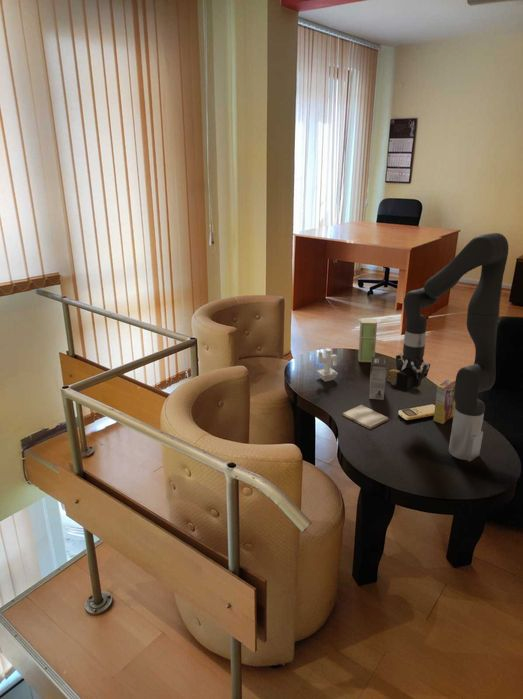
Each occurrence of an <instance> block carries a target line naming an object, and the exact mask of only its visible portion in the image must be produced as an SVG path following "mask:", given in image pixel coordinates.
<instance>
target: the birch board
mask: <svg viewBox="0 0 523 699" xmlns="http://www.w3.org/2000/svg"><path fill="white" fill-rule="evenodd" d="M342 416H344V417H345V418H347V419H349V420H351V421H353V422H355V423H356V424H359V425H361V426H362V427H365V428H367V429H368V430H371V429H373V428H375V427H377V426H379V425H381V424H383V423H385V422H387V421H389V417H388V416H386V415H383V414H382V413H379V412H378V411H375V410H373V409H371V408H369V407H367V406H365V405H363V404H360V405H357V406H356V407H352V408H351V409H348V410H347V411H343V412H342Z"/></svg>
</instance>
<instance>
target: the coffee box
mask: <svg viewBox="0 0 523 699" xmlns="http://www.w3.org/2000/svg"><path fill="white" fill-rule="evenodd" d="M387 359H388V358H387V357H384V356H383V357H382V356H380V357H379V356H375V357H372V361H371V362H370V363H371V364H370V375H369V390H368V391H369V394H368V398H369V399H370V400H380V401H381V400H382V401H384V400H385V391H386V382H387V381H386V376H387V370H388V369H387V366H388V362H387V361H388V360H387Z"/></svg>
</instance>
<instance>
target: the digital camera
mask: <svg viewBox="0 0 523 699" xmlns="http://www.w3.org/2000/svg"><path fill="white" fill-rule="evenodd" d="M417 370H418V369H417ZM421 372H422V371H421ZM415 378H416V377H415V373H414V372H413V369H411V368H407V369H405V370H404V369H403V370H401V371H399V372H397V377H396V383H395V390H397V391H401V392H403V393H407V392H409V391H410V390H412V389H414V388H415V387H414V386H415ZM422 380H423V379H421V381H422Z"/></svg>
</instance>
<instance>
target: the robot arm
mask: <svg viewBox="0 0 523 699" xmlns="http://www.w3.org/2000/svg"><path fill="white" fill-rule="evenodd" d="M508 255H509V242H508V240H507V238H506V236H504V234H502V233H499V232H493V233H485V234H479V235H477V236H475V237H473V238H472V239H471V240H470V241H469V242H468V243H467V244H465V246H464V247H463V248H462V249H461V251H460V252H459V253H458V254H457V255H455V257H454V258H453V259H452V260H451V261H450V262H448V263H447V265H445V266H444V267H443V268H441V269H440V270H439V271H437V272H436V273H435V274H433V275H432V276H430V277H429V279H427V280H426V281H425V282H424V286H423V287H421V288H418V289H414V290H409V291H408V292H407V293H406V294H405V296H404V298H403V308H404V313H405V318H406V324H405V333H404V336H403V347H402V354H401V353H400V354H397V355H395V363H396V370H397V371H401V370H403V369H404V370H405V369H407V368H411V369H413V372H414V373H415V377H416V378H415V386H414V388H419V387H420V386H421V385H422V384H421V383H422V380H423V379H425V378H427V376H428V374H429V371H430V368H431V363H426V362H425V361H424V356H425V349H426V339H427V336H426V333H427V322H428V321H427V320H428V319H427V317H426V316H425V315H424V314H421V310H422V309H425V308H429V307H431V306H432V305H434V304H435V303H436V302H437V301H438V300H439V298H440V297H441V296H443V295H444V294H446V293H447V292H449V291H450V290H451V289H453V288H454V287H455V286H456V285H457V284H458V283H459V281H460V280H461V279H462V277H463V276H464V275H466V274H467V273H469V272H471V271H472V270H475V269H476V268H479V267H481V268H480V269H481V270H480V277H479V281H478V283H477V286H476V287H475V290H474V292H473V293H472V295H471V298H470V300H469V302H468V306H467V313H466V327H467V328H466V329H467V332H468V333H469V336H470V338H471V340H472V342H473V344H474V349H475V354H474V355H475V356H474V362H473V364H471V365H468V366H463V367H461V368H459V370H458V371H457V373H456V376H455V380H454V381H455V392H454V400H455V407H454V416H453V417H452V424H451V432H450V438H449V443H448V444H449V445H448V452H449V454H450V455H451V456H452V457H454V458H456V459H459V460H463V461H468V462H472V461H473V460H475V459H476V458H477V457H479V456H480V453H481V446H482V441H483V435H484V431H483V430H482V426H483V423H484V422H483V421H484V415H485V410H486V404H485V402H484V401H482V400H481V399H479V398H478V397H479V393H481V392H485V391H488V390H490V389H492V388H493V386H494V385H495V382H496V374H497V372H496V370H497V369H496V351H497V337H498V336H497V335H498V327H499V326H498V325H499V319H500V308H501V307H500V306H501V305H500V304H501V296H502V287H503V279H504V274H505V270H506V265H507V261H508V257H509V256H508ZM417 369H418V370H417ZM421 371H422V372H421ZM421 379H422V380H421Z"/></svg>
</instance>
